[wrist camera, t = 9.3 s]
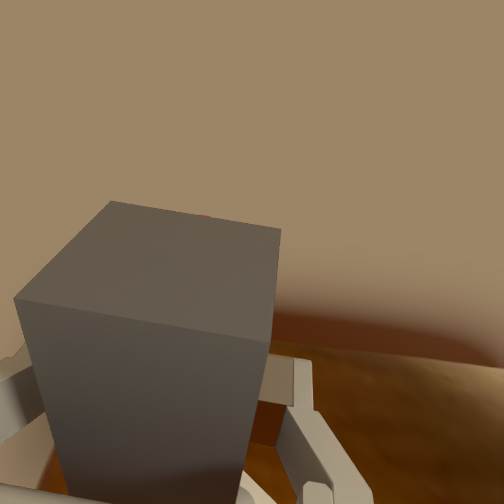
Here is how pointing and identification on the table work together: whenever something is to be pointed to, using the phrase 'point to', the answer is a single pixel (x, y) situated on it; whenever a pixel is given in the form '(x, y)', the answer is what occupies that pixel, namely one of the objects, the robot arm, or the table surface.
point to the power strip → (251, 492)
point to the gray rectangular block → (153, 352)
